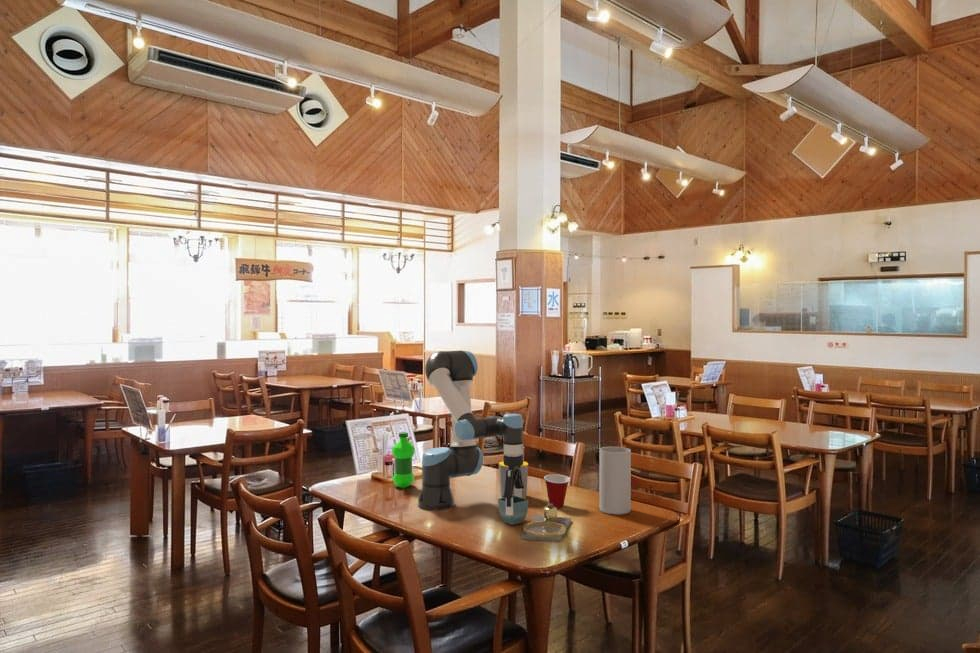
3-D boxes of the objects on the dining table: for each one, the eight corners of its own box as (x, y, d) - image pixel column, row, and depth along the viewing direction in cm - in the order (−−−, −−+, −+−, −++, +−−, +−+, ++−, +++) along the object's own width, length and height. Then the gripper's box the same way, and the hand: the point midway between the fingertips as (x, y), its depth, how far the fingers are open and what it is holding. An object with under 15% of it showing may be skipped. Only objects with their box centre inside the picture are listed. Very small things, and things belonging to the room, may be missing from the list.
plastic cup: (556, 511, 262) (556, 481, 262) (538, 505, 270) (538, 476, 270) (575, 506, 268) (575, 478, 268) (557, 500, 277) (557, 473, 277)
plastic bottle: (397, 490, 295) (397, 435, 295) (389, 485, 304) (389, 432, 304) (417, 487, 300) (417, 433, 300) (409, 482, 309) (409, 430, 309)
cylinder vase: (596, 506, 268) (596, 446, 268) (625, 505, 269) (625, 446, 269) (604, 515, 256) (604, 452, 256) (634, 514, 257) (634, 452, 257)
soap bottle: (494, 499, 280) (494, 450, 280) (503, 491, 292) (503, 445, 292) (523, 501, 276) (523, 452, 276) (531, 494, 288) (531, 446, 288)
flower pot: (514, 517, 253) (514, 495, 253) (529, 523, 246) (529, 499, 246) (497, 522, 248) (497, 498, 248) (512, 527, 241) (512, 503, 241)
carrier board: (519, 538, 229) (519, 516, 229) (534, 518, 253) (534, 498, 253) (561, 542, 225) (561, 520, 224) (572, 521, 249) (572, 501, 248)
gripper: (515, 461, 234) (515, 520, 233) (530, 449, 258) (530, 502, 257) (495, 460, 236) (495, 518, 236) (511, 448, 260) (512, 501, 259)
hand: (513, 510), depth 246 cm, fingers open, 13 cm apart
